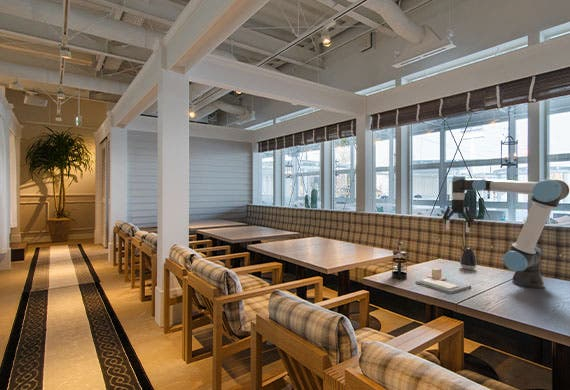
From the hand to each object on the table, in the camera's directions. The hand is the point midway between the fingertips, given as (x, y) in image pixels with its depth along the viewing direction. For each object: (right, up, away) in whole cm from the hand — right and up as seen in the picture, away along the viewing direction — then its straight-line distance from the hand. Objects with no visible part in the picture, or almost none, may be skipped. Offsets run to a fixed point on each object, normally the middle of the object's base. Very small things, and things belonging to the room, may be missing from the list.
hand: (457, 231), depth 215 cm
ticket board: (-22, -29, -25) cm, 44 cm away
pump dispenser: (+15, -29, +13) cm, 35 cm away
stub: (-21, -27, -16) cm, 38 cm away
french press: (-42, -29, -9) cm, 52 cm away
